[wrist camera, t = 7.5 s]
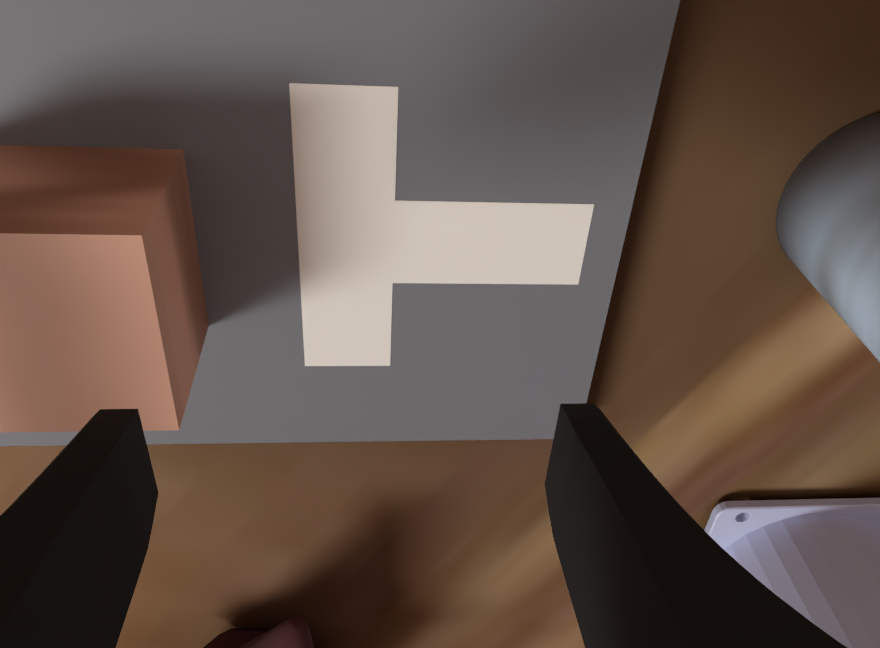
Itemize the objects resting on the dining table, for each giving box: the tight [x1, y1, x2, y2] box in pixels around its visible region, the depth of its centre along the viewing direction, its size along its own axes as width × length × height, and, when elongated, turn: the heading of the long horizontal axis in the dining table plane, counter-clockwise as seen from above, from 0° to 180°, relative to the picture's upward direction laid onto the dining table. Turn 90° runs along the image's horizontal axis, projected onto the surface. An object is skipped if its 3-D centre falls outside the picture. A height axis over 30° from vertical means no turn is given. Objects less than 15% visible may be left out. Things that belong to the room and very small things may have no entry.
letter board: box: [0, 0, 680, 446], centre depth 19 cm, size 18×14×1 cm
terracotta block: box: [0, 145, 209, 432], centre depth 17 cm, size 5×5×4 cm
